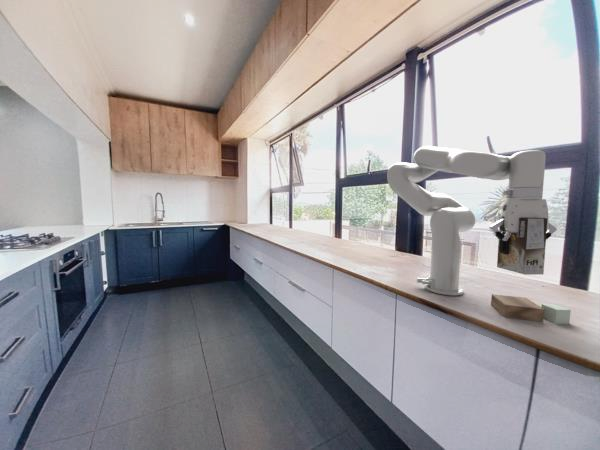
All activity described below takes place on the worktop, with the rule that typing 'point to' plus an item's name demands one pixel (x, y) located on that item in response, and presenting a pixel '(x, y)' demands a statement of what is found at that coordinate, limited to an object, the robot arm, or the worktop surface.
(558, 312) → the cube
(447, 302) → the worktop surface
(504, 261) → the coffee box
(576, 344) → the worktop surface
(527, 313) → the base block
